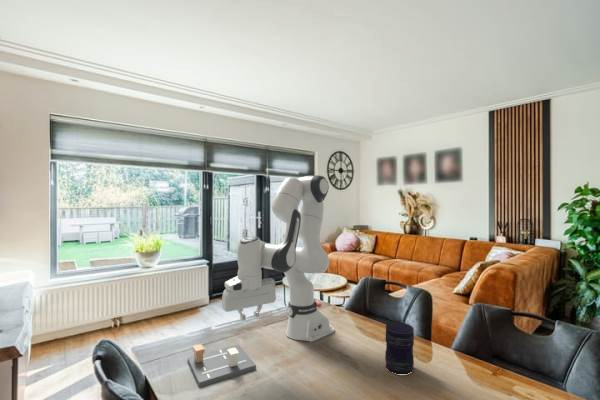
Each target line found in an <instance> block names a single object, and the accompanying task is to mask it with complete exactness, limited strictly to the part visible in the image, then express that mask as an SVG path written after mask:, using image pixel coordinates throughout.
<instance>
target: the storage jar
mask: <svg viewBox="0 0 600 400" xmlns="http://www.w3.org/2000/svg"><path fill="white" fill-rule="evenodd" d="M414 332H415V329H414V327H413V326H412V325H410V324H408V323H406V322H401V321H392V322H391V321H390V322H388V323H386V325H385V339H384V340H385V344H386V345H385V346H386V348H385V353H384V355H385V356H384V359H385V365H386V366H385V369H386V368H387V369H388V370H389V371H390V372H389V371H388V370H387V369H386V370H387V371H388V372H389V373H391V372H393V373H396V374H408V373H410V372H412V370H413V371H414V363H415V362H414V354H413V353H414V352H413V351H414V344H415V342H414V341H415V336H414V335H415V333H414ZM393 373H392V374H393Z"/></svg>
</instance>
